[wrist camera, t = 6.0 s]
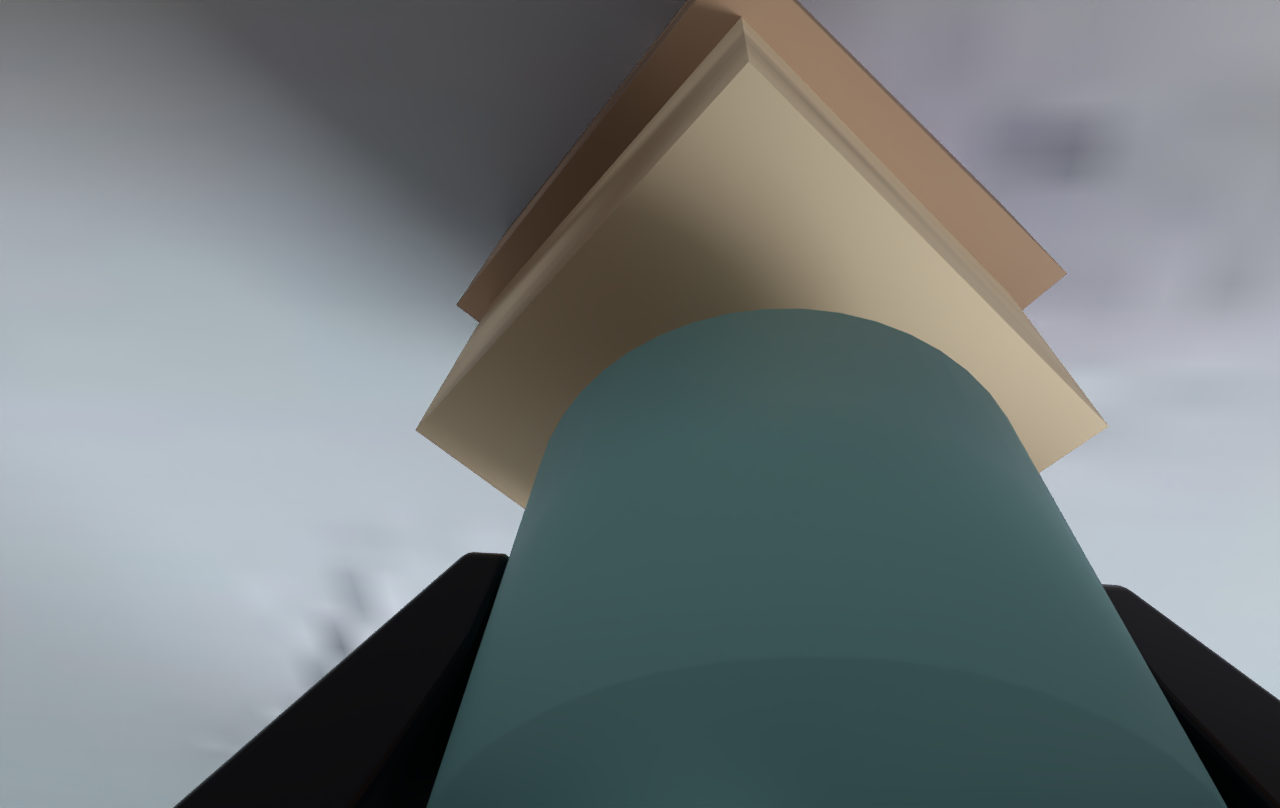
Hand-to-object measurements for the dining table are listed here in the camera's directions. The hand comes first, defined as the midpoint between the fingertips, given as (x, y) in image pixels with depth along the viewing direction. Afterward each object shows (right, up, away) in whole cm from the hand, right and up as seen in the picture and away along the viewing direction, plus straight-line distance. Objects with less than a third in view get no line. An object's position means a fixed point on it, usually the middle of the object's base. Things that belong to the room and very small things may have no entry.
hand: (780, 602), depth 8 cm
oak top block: (0, +4, +6) cm, 7 cm away
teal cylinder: (0, 0, +1) cm, 1 cm away
